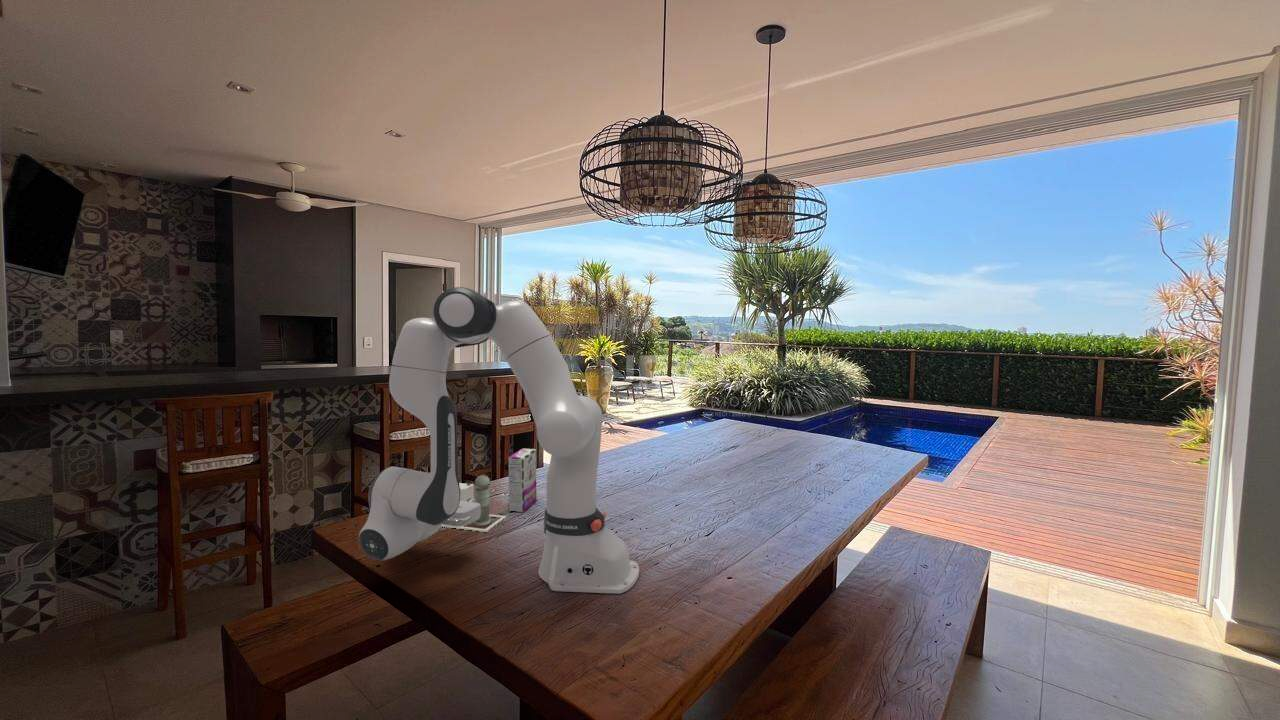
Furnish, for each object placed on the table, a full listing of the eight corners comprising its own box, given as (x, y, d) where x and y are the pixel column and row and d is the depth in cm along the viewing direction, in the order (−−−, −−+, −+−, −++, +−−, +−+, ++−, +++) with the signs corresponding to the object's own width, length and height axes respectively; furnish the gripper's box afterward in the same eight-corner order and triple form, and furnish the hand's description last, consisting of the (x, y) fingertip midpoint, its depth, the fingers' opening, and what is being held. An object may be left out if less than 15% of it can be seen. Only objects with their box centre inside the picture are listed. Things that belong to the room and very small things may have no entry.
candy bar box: (521, 499, 169) (521, 447, 168) (536, 500, 168) (537, 448, 167) (507, 511, 158) (507, 456, 157) (523, 513, 157) (523, 457, 156)
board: (506, 518, 153) (506, 516, 153) (481, 536, 140) (481, 534, 140) (431, 509, 159) (431, 507, 159) (400, 526, 146) (400, 524, 146)
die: (474, 500, 168) (474, 482, 167) (465, 505, 163) (465, 487, 162) (459, 498, 169) (459, 481, 168) (450, 503, 164) (450, 485, 164)
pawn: (493, 521, 150) (493, 474, 149) (485, 527, 146) (485, 478, 145) (479, 520, 151) (479, 472, 150) (471, 525, 147) (470, 477, 146)
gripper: (463, 510, 120) (493, 491, 134) (383, 499, 125) (421, 482, 138) (462, 537, 121) (493, 516, 134) (383, 525, 125) (420, 506, 139)
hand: (456, 499), depth 136 cm, fingers open, 8 cm apart
